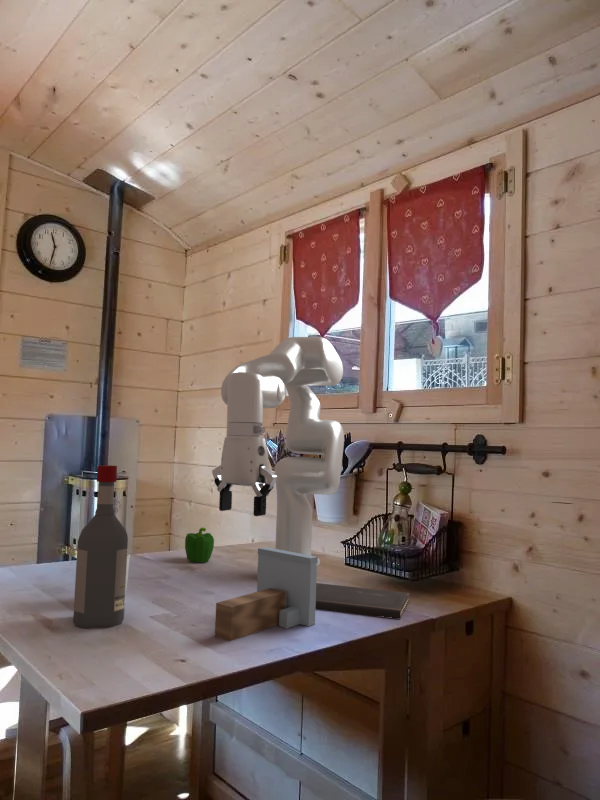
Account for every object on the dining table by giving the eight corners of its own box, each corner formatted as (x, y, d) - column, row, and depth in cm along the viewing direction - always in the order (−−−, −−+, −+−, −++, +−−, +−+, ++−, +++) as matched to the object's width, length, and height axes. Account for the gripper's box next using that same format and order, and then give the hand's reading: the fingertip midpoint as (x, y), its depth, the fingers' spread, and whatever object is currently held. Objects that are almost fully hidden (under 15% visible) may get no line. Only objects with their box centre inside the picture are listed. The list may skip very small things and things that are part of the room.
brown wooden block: (270, 617, 125) (271, 587, 125) (285, 621, 122) (286, 591, 123) (214, 636, 112) (216, 602, 112) (230, 641, 110) (232, 607, 110)
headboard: (263, 609, 130) (265, 546, 131) (315, 623, 122) (317, 556, 122) (242, 615, 125) (245, 550, 126) (296, 630, 117) (298, 560, 118)
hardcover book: (314, 592, 149) (315, 582, 149) (409, 603, 142) (410, 593, 142) (294, 609, 134) (295, 598, 134) (400, 622, 127) (400, 610, 127)
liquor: (72, 629, 113) (81, 466, 115) (75, 615, 122) (84, 464, 123) (123, 627, 115) (131, 467, 117) (123, 613, 124) (131, 465, 126)
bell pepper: (182, 559, 180) (184, 524, 180) (210, 558, 182) (211, 524, 183) (185, 565, 172) (187, 529, 172) (215, 564, 174) (216, 528, 175)
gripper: (287, 432, 127) (285, 515, 126) (227, 429, 137) (224, 506, 136) (264, 432, 121) (261, 519, 120) (202, 429, 131) (200, 510, 130)
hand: (242, 512), depth 128 cm, fingers open, 9 cm apart
